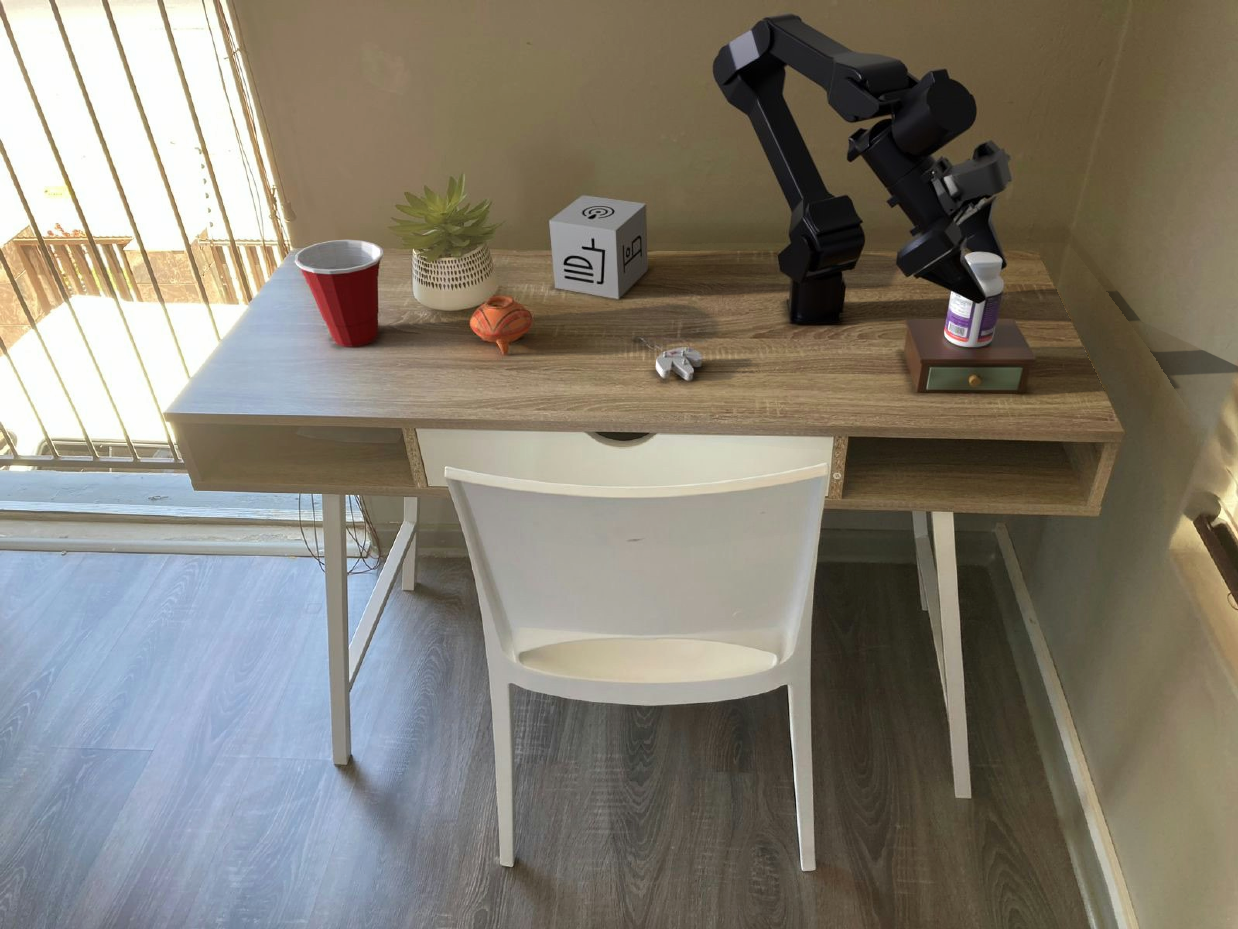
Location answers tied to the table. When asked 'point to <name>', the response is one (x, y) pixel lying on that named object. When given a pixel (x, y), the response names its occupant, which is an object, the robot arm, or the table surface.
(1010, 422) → the table surface
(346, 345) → the plastic cup
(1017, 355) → the cabinet
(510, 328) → the pot
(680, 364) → the game controller
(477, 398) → the table surface
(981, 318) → the pill bottle
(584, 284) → the icon cube
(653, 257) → the table surface
